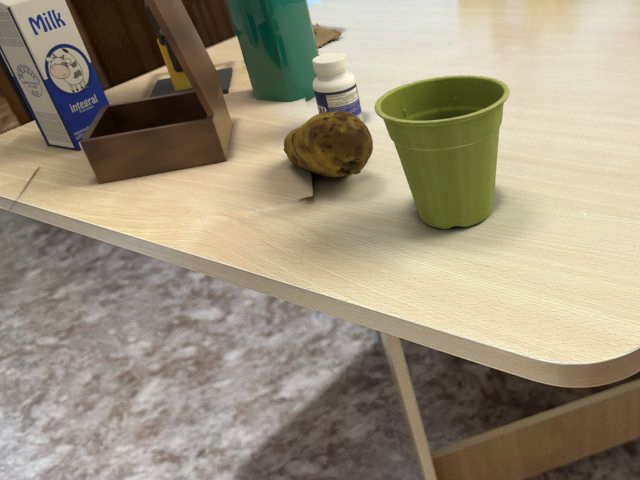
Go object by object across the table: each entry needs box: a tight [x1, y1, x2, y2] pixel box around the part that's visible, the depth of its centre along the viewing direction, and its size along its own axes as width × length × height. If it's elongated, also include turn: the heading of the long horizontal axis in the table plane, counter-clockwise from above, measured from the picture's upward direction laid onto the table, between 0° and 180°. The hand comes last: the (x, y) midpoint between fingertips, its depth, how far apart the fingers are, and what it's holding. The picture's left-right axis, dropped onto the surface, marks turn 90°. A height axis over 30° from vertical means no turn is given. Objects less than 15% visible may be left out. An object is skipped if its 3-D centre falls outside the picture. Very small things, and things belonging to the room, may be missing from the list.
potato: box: [283, 111, 374, 178], centre depth 73 cm, size 8×13×8 cm, turn 24°
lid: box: [146, 0, 222, 116], centre depth 77 cm, size 15×13×5 cm
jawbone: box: [312, 22, 342, 49], centre depth 118 cm, size 9×20×2 cm, turn 161°
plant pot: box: [373, 74, 511, 230], centre depth 63 cm, size 12×12×11 cm
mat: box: [148, 67, 234, 98], centre depth 108 cm, size 12×12×1 cm
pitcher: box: [226, 0, 320, 103], centre depth 93 cm, size 10×8×22 cm
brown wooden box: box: [80, 87, 234, 185], centre depth 84 cm, size 15×13×6 cm
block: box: [156, 38, 192, 91], centre depth 105 cm, size 4×4×8 cm
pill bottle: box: [312, 52, 366, 125], centre depth 84 cm, size 5×5×9 cm
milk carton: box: [0, 0, 110, 152], centre depth 87 cm, size 7×7×20 cm
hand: (184, 65), depth 106 cm, fingers closed on block, 4 cm apart
